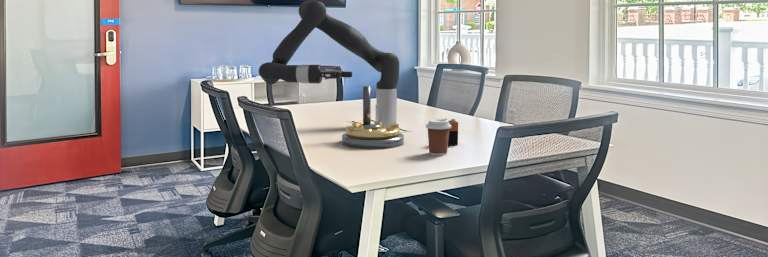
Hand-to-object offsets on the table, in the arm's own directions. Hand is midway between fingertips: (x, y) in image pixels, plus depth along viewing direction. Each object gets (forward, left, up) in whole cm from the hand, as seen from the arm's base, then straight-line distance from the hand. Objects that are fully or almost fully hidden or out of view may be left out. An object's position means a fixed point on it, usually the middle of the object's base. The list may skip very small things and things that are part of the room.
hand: (351, 74), depth 254 cm
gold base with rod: (+12, +2, -23) cm, 26 cm away
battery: (+30, +25, -26) cm, 47 cm away
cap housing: (+12, +2, -26) cm, 29 cm away
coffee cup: (+42, +11, -26) cm, 51 cm away
